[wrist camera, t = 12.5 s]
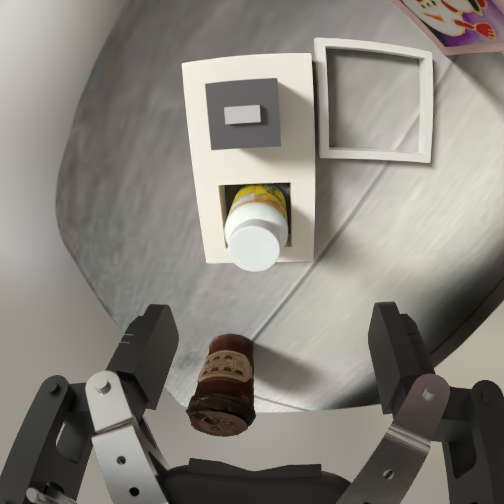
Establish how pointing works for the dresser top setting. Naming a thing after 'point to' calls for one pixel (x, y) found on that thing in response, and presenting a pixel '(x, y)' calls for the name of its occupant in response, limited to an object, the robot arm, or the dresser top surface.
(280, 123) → the white holder base
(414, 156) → the tray
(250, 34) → the dresser top surface
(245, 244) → the supplement bottle
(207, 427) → the coffee cup
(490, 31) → the greeting card
